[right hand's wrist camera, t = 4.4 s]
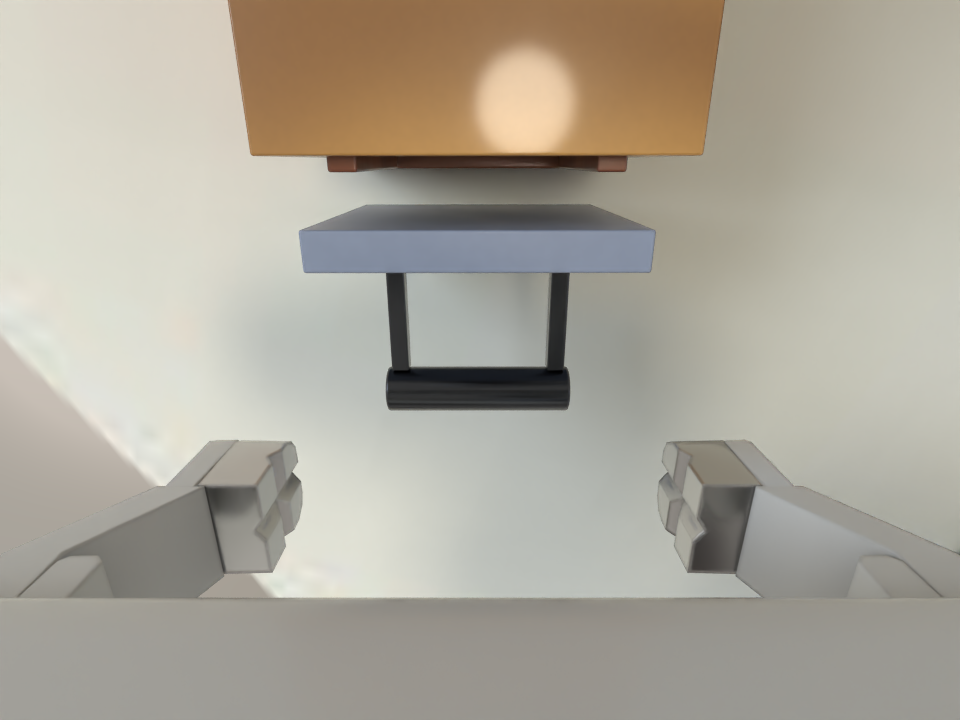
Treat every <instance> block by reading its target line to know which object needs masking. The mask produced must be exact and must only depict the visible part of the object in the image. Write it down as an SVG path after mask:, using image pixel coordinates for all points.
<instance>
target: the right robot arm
mask: <svg viewBox="0 0 960 720" xmlns="http://www.w3.org/2000/svg"><path fill="white" fill-rule="evenodd" d="M297 463H298V458H297V453H296V447H295V445H294V444H293V443H292V442H291V441H246V440H241V441H239V440H216V441H210V442H209V443H208V444H207V445H206V446H205V447H204V448H203V449H202V450H201V451H200V452H199V453H198V454H197V455H196V456H195V457H194V458H193V459H192V460H191V461H190V462H189V463H188V464H187V465H186V466H185V467H184V468H183V469H182V470H181V471H180V472H179V473H178V474H177V475H176V476H175V477H174V478H173V479H172V480H171V481H170V482H169V483H168V484H167V485H166V486H156V487H154V488H152V489H150V490H147V491H145V492H143V493H140V494H138V495H136V496H133V497H131V498H129V499H126V500H124V501H122V502H120V503H117V504H115V505H113V506H110V507H108V508H106V509H103V510H101V511H99V512H96V513H94V514H92V515H90V516H87V517H85V518H83V519H80V520H78V521H76V522H73V523H71V524H69V525H67V526H64V527H62V528H60V529H57V530H55V531H53V532H51V533H48V534H46V535H43V536H41V537H39V538H37V539H34V540H32V541H30V542H27V543H25V544H23V545H20V546H18V547H16V548H14V549H11V550H9V551H7V552H4V553H2V554H1V555H0V720H960V555H959V554H957V553H955V552H953V551H951V550H948V549H946V548H944V547H941V546H939V545H937V544H935V543H932V542H930V541H928V540H925V539H923V538H921V537H918V536H916V535H914V534H912V533H909V532H907V531H905V530H902V529H900V528H898V527H895V526H893V525H891V524H889V523H886V522H884V521H882V520H879V519H877V518H875V517H872V516H870V515H868V514H866V513H863V512H861V511H859V510H856V509H854V508H852V507H849V506H847V505H845V504H843V503H840V502H838V501H836V500H833V499H831V498H829V497H827V496H824V495H822V494H820V493H817V492H815V491H813V490H810V489H808V488H806V487H804V486H794V485H793V484H792V483H791V482H790V481H789V480H788V479H787V478H786V477H785V476H784V475H783V474H782V473H781V472H780V471H779V470H778V469H777V468H776V467H775V466H774V465H773V464H772V463H771V462H770V461H769V460H768V459H767V458H766V457H765V456H764V455H763V454H762V453H761V452H760V451H759V450H758V449H757V448H756V447H755V446H754V445H753V443H752V442H750V441H747V440H727V441H723V440H719V441H678V442H667V443H666V446H665V448H664V451H663V457H662V463H663V464H664V466H665V468H666V470H667V471H668V472H667V473H666V474H665V476H664V477H663V478H662V479H661V480H660V481H659V485H658V495H657V499H658V511H659V514H660V518H661V521H662V523H663V525H664V527H665V529H666V530H667V531H668V532H670V533H671V534H673V535H674V536H676V537H675V543H674V547H675V549H676V551H677V553H678V555H679V557H680V559H681V561H682V563H683V565H684V567H685V569H686V571H687V572H688V573H721V574H736V577H737V578H739V579H740V580H741V581H743V582H744V583H745V584H746V585H748V586H749V587H750V588H751V589H753V590H754V591H755V592H756V593H758V594H759V595H760V596H761V597H763V598H197V597H199V596H200V595H201V594H202V593H204V592H205V591H206V590H207V589H209V588H210V587H211V586H213V585H214V584H215V583H216V582H218V581H219V580H220V579H221V578H223V577H224V574H238V573H272V572H273V571H274V569H275V567H276V565H277V563H278V561H279V559H280V557H281V555H282V553H283V551H284V549H285V547H286V544H285V537H284V536H286V535H287V534H289V533H290V532H292V531H293V530H294V529H295V527H296V525H297V523H298V521H299V518H300V513H301V508H302V485H301V481H300V480H299V479H298V478H297V477H296V476H295V475H294V473H293V472H292V471H293V469H294V468H295V466H296V464H297Z"/></svg>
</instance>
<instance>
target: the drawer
mask: <svg viewBox="0 0 960 720" xmlns="http://www.w3.org/2000/svg"><path fill="white" fill-rule="evenodd" d="M627 158H628V156H327V165H328V171H329V172H362V171H374V170H385V169H396V168H562V169H573V170H584V171H595V172H625V171H626V168H627ZM655 234H656V232H655V230H653V229H650V228H648V227H645V226H643V225H640V224H638V223H635V222H633V221H630V220H628V219H625V218H623V217H620V216H618V215H615V214H613V213H610V212H608V211H605V210H602V209H600V208H597V207H595V206H592V205H365V206H362V207H360V208H357V209H354V210H352V211H349V212H347V213H344V214H341V215H339V216H336V217H334V218H331V219H328V220H326V221H323V222H321V223H318V224H315V225H313V226H310V227H308V228H305V229H302V230H300V231H299V238H300V246H301V254H302V262H303V270H304V272H305V273H386V281H387V296H388V311H389V326H390V341H391V356H392V367H390V368H389V369H388V372H387V378H386V401H387V406H388V409H389V410H567V409H568V406H569V402H570V377H569V372H568V369H567V367H564V356H565V340H566V324H567V307H568V291H569V275H570V273H649V272H651V268H652V260H653V251H654V243H655ZM406 273H550V274H549V295H548V316H547V337H546V358H545V365H546V367H410V366H411V356H410V337H409V318H408V299H407V280H406Z"/></svg>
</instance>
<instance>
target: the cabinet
mask: <svg viewBox="0 0 960 720" xmlns="http://www.w3.org/2000/svg"><path fill="white" fill-rule="evenodd" d="M724 3H725V0H228V5H229V12H230V18H231V25H232V32H233V39H234V45H235V52H236V59H237V66H238V72H239V79H240V86H241V93H242V99H243V106H244V113H245V120H246V126H247V133H248V140H249V147H250V153H251V155H252V156H279V157H322V158H327V156H628V157H659V156H698V155H702V154H703V150H704V143H705V136H706V129H707V122H708V115H709V108H710V101H711V94H712V87H713V80H714V73H715V66H716V59H717V52H718V45H719V38H720V31H721V24H722V17H723V10H724Z"/></svg>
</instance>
